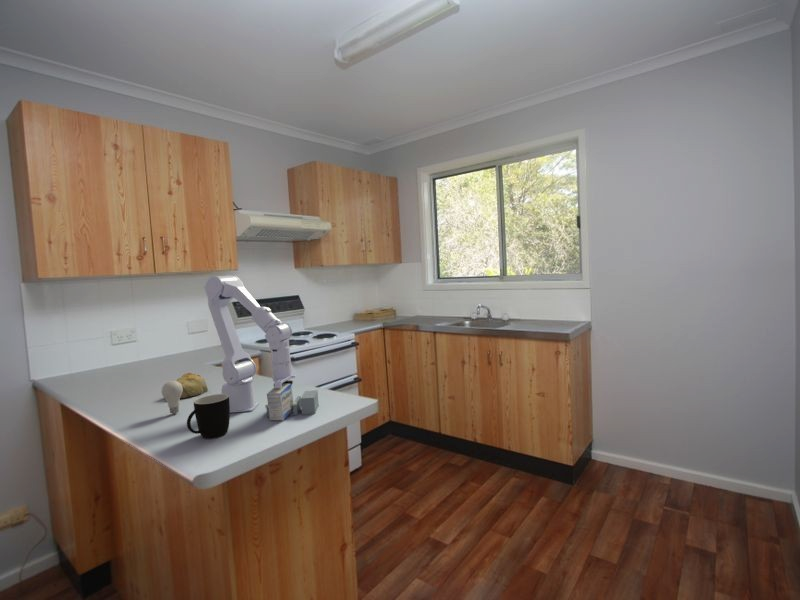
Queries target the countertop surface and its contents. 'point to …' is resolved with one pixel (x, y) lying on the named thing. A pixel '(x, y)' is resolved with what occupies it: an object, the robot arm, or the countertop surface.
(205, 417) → the mug
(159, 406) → the countertop surface
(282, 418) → the medicine box
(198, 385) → the pastry
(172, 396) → the lightbulb
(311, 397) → the dispenser
